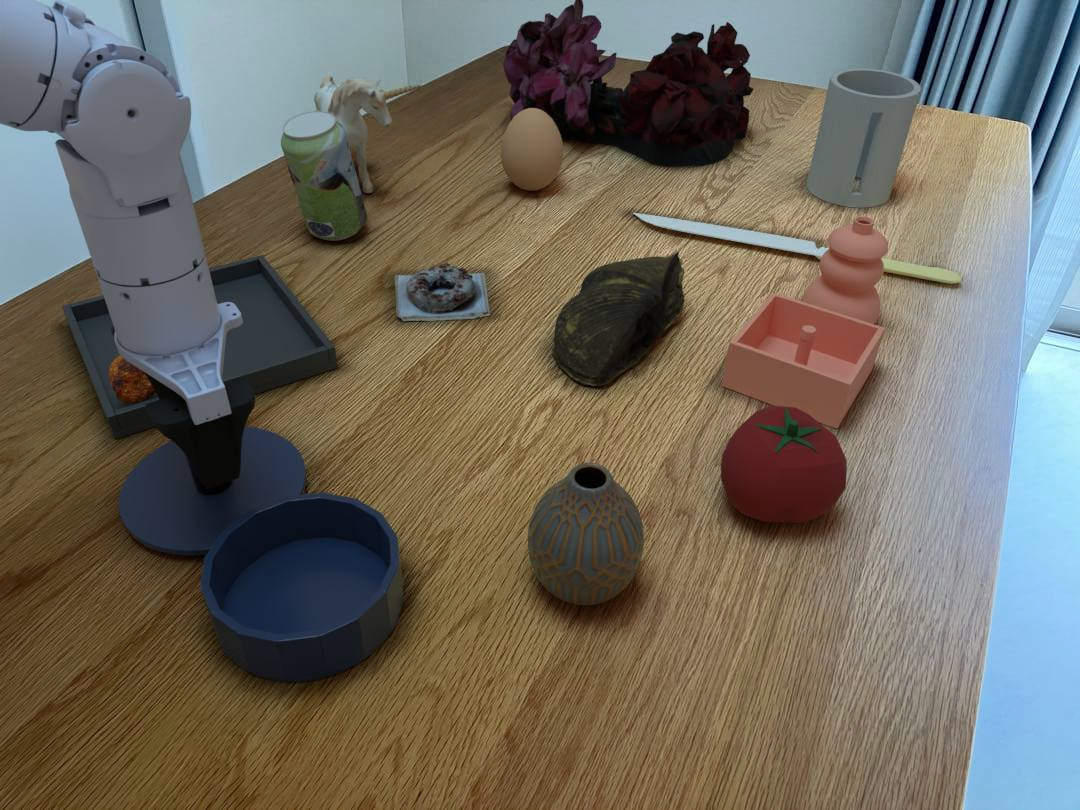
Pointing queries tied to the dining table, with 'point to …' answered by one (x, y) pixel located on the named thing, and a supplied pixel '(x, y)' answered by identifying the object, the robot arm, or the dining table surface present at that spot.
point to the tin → (303, 586)
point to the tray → (250, 350)
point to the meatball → (129, 382)
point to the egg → (532, 150)
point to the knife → (793, 246)
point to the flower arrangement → (633, 90)
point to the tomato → (783, 466)
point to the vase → (585, 537)
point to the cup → (862, 136)
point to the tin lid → (205, 493)
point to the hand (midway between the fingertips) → (204, 445)
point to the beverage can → (323, 175)
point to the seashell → (617, 317)
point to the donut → (441, 294)
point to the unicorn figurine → (357, 112)
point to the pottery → (816, 332)
